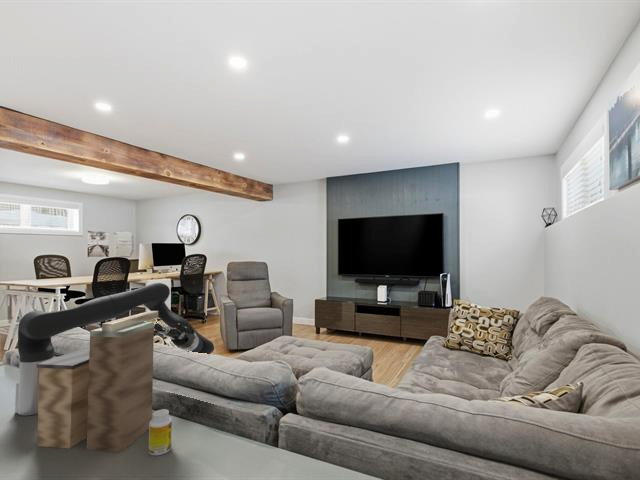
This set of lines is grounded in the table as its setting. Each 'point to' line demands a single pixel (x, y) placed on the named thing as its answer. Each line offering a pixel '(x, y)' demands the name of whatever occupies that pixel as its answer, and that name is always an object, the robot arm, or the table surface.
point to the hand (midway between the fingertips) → (166, 325)
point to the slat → (129, 321)
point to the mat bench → (63, 400)
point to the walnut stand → (119, 386)
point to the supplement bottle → (160, 432)
